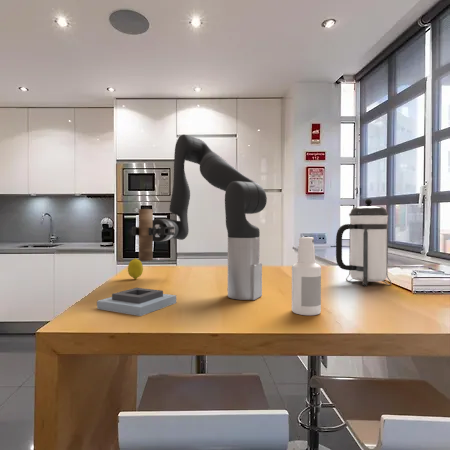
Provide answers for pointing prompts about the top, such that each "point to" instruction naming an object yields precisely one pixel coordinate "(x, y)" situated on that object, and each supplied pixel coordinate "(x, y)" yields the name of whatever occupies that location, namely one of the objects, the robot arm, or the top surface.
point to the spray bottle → (306, 280)
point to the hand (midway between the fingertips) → (142, 231)
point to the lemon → (135, 268)
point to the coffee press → (366, 244)
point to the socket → (136, 301)
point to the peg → (145, 235)
